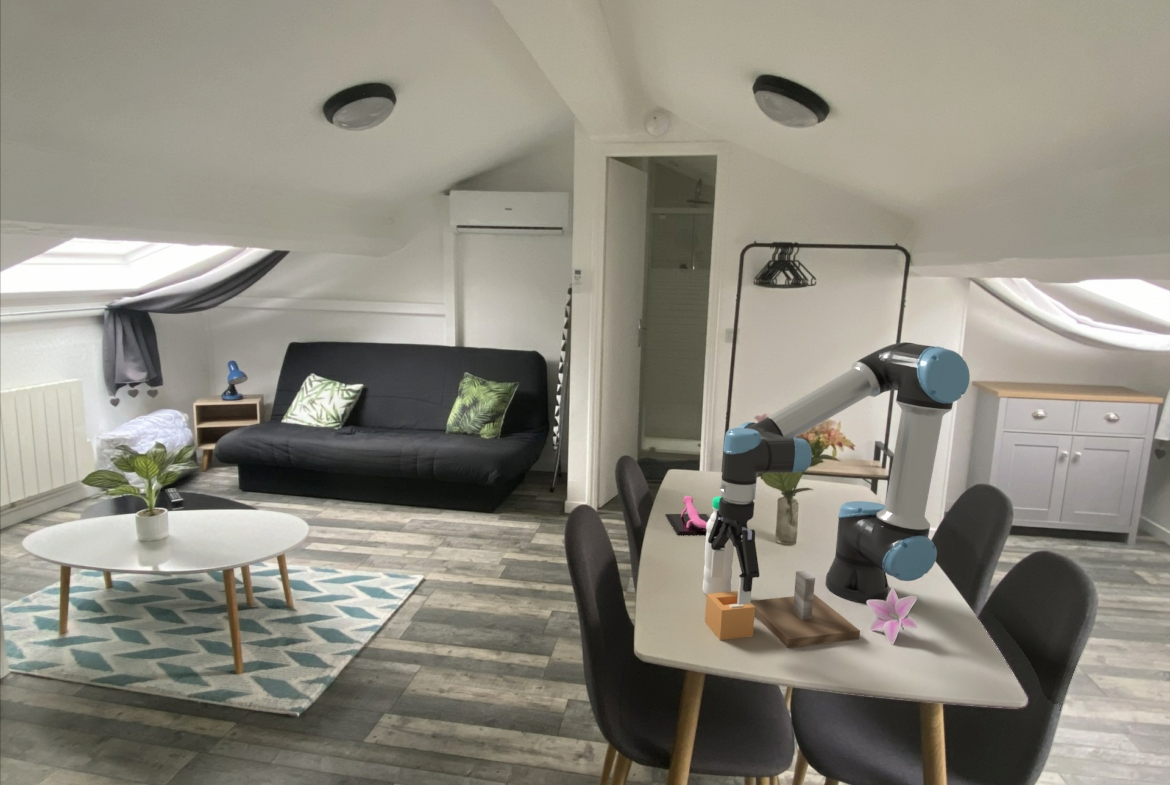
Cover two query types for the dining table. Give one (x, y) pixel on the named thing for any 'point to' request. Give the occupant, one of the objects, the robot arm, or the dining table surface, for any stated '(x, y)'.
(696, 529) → the lizard figurine
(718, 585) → the water bottle
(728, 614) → the orange slotted box
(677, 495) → the dining table surface
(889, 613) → the lily
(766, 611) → the board
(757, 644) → the dining table surface
